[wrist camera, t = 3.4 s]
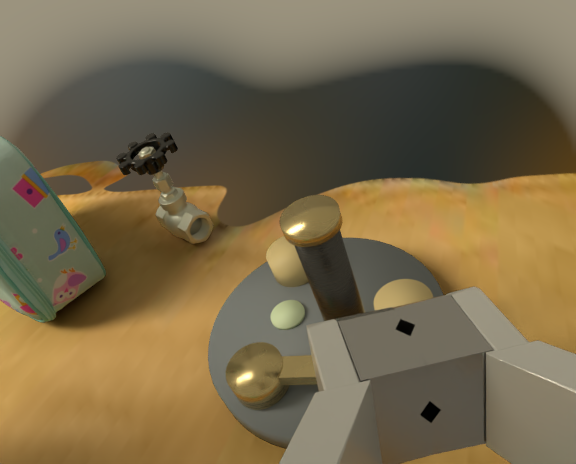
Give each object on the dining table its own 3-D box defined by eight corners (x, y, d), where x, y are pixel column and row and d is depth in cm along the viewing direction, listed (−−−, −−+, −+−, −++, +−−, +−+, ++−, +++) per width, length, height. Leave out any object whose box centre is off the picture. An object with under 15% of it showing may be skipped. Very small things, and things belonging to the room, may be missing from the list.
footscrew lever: (229, 409, 38) (127, 262, 28) (242, 359, 41) (154, 211, 31) (389, 409, 35) (335, 240, 25) (389, 353, 38) (342, 184, 28)
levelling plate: (174, 368, 46) (151, 338, 43) (315, 229, 54) (304, 197, 52) (346, 513, 33) (330, 483, 30) (497, 300, 41) (495, 261, 38)
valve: (185, 260, 57) (134, 174, 50) (155, 241, 61) (104, 160, 54) (228, 224, 60) (186, 138, 52) (196, 209, 64) (153, 127, 57)
